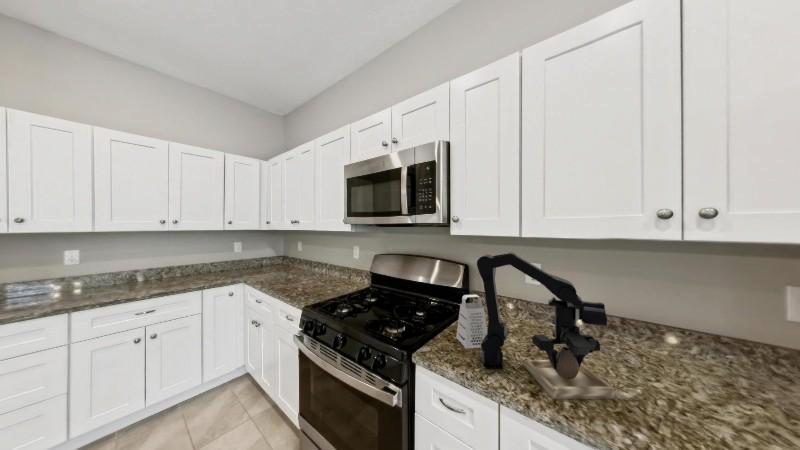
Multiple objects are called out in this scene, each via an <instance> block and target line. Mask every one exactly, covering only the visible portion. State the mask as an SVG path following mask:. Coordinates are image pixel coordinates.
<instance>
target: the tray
mask: <svg viewBox="0 0 800 450" xmlns="http://www.w3.org/2000/svg"><path fill="white" fill-rule="evenodd" d="M525 369H526V371H527V372H528V373H529V374H530V376H532V377H533V378H534V380H535V381H536V382H537V384H538V385H539V386H540V387H541V388H542V389H543V390H544V391H545V393H547V395H548V396H549V397H550V398H551V399H552V400H615V399H616V393H615V392H616V388H614V387H613V386H612V385H611V384H610V383H608V382H607V381H606V380H604V379H603V378H602V377H600V376H599V375H598V374H596V373H595V372H594V371H593V370H591V369H590V368H589V367H588V366H586V365H585V364H583V363H581V365H580V367H579V371H578V374H577V376H576V377H575V378H573V379H565V378H562V377H560V376H559V375H558V374H557V373H556V371H555V370H554V369H553V367H552V365H551V362H550V360H549V359H525Z"/></svg>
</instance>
